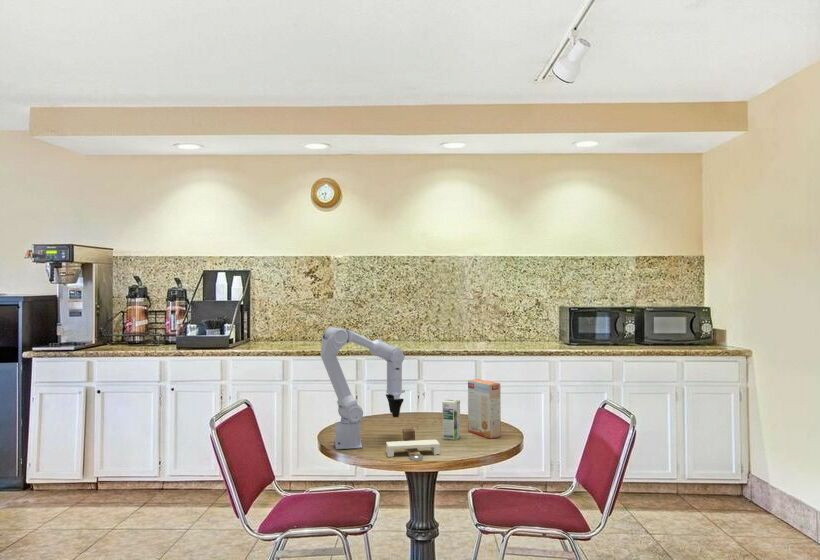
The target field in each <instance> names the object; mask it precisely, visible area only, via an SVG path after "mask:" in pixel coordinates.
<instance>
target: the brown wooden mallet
mask: <svg viewBox="0 0 820 560" xmlns="http://www.w3.org/2000/svg"><path fill="white" fill-rule="evenodd" d="M402 441H416V435H415V430H414V429H413V427H411V428H402ZM405 451H406V454H407V455H408V454H409V455H408V457H409V456H410V455H411V454H421V452H420V450H419V448H408V449H406V450H405Z"/></svg>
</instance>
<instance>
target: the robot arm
mask: <svg viewBox="0 0 820 560" xmlns="http://www.w3.org/2000/svg"><path fill="white" fill-rule="evenodd" d="M320 338H321V348H320V357H321V359H322V363H323V365H324V367H325V370H326V372H327V375H328V377H329V380H330V383H331V386H332V388H333V390H334V393H335V394H336V398H337V401H336V404H337V406H338V410H337V411H338V415H339V416H340V417H341V418H340V421H337V422H336V421H335V422H334V423H335V425H334V429H335V430H334V433H335V434H334V441H333V443H334V445H335V450H344V449H345V450H347V449H349V450H350V449H363V444H362V441H361V421H362V418H363V416H364V410H363V408H362V407H361V406H360V405H359V404H358V402H357V400H356V399H355V397H354V396H353V395H352V392H351V390H350V387H349V384H348V382H347V380H346V377H345V374H344V372H343V370H342V367H341V364H340V362H339V360H338V353H340V350H341V349H342V348H343V347H344V346H345V345H346V343H347V344H350V343H354V344H356V345H359V346H362V347H364V348H366V349H368V350H369V352H370V354H371V355H373V356H376V357H377V358H381V359H382V360H385V361H386V393H385V396H386V399H387V402H388V406H389V407H388V408H389V412H390V414H391V415H392V417H393V418H399V417H400V412H401V407H402V404H403V403H404V400H405V399H404V398H400V397H401V394H404V393H406V390H405V389H403V387H402V385H403V384H402V383H403V378H402V377H403V374H402V373H403V372H402V370H403V362H404V360H405V357H406V356H405V354H404V352H403V350H402V349H401V348H399V347H398V348H397V347H394V345H393V344H391V343H390V344H388V343H386V342H384V339H381V338H379V339H373V340H371V339H369V338H367V337H366V336H364V335H361V334H359V333H357V332H355V331H353V330H349V329H345V328H343V327H335V326H329V327H326V328H325V330H324V332H323V333H322V335H321V337H320Z"/></svg>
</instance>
